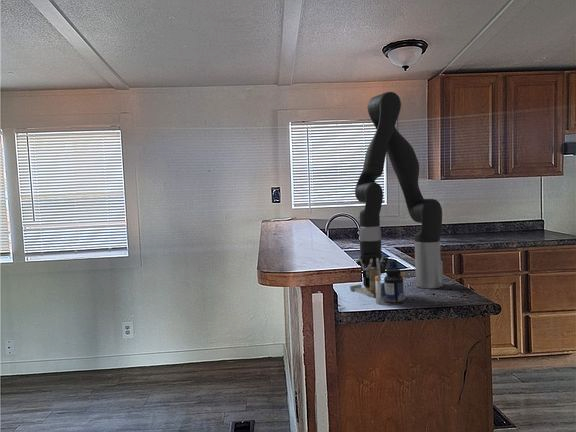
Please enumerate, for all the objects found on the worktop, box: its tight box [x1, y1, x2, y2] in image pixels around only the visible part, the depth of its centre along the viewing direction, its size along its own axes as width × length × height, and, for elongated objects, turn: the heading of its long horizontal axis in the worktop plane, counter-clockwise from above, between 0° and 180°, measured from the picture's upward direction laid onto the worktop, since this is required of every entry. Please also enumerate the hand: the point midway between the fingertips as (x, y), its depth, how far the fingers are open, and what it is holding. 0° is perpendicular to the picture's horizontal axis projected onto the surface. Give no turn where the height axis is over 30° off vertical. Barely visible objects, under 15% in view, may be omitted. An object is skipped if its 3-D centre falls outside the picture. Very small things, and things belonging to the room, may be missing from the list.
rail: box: [349, 284, 376, 299], centre depth 164 cm, size 4×14×2 cm, turn 25°
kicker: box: [363, 268, 385, 298], centre depth 157 cm, size 8×11×8 cm
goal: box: [375, 271, 406, 305], centre depth 151 cm, size 12×2×9 cm, turn 115°
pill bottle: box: [383, 268, 404, 305], centre depth 150 cm, size 6×6×11 cm
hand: (372, 286), depth 161 cm, fingers closed on kicker, 3 cm apart
